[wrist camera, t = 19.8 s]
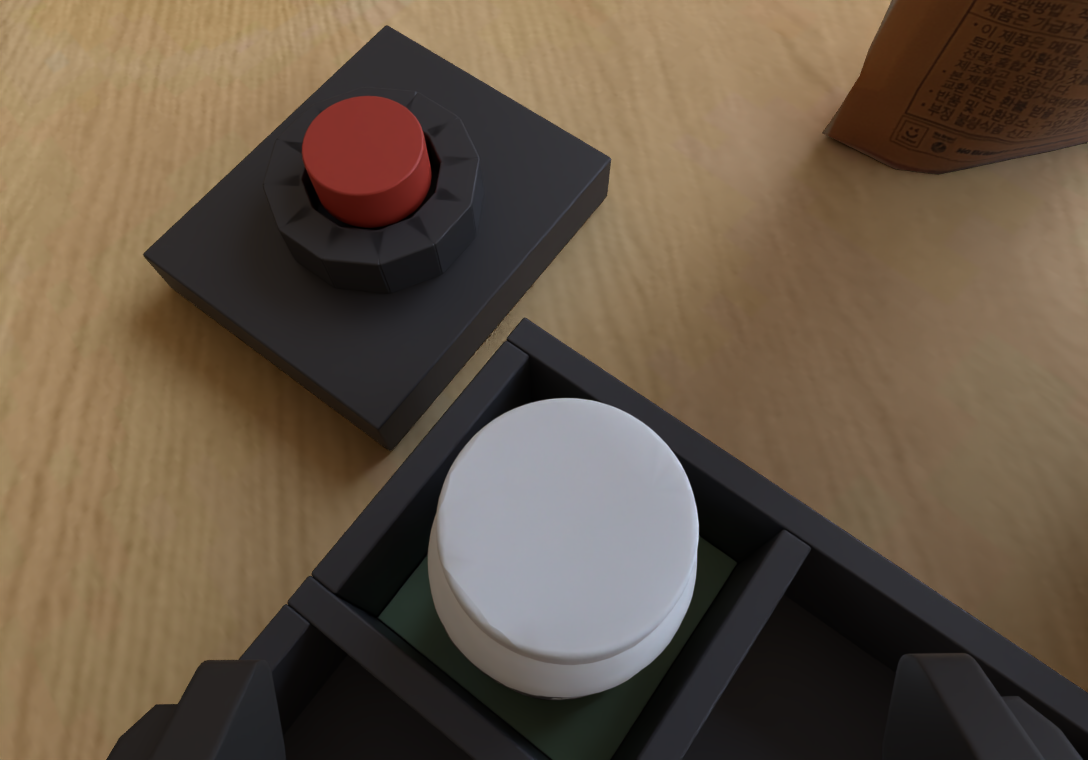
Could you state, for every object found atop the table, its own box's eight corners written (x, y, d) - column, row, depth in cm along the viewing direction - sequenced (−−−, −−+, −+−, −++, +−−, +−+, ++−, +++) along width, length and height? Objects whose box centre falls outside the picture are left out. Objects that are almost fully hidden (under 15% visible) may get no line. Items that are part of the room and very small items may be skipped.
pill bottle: (422, 563, 24) (344, 468, 15) (587, 462, 25) (610, 316, 16) (524, 745, 22) (507, 765, 13) (697, 627, 23) (795, 570, 14)
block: (391, 452, 26) (365, 409, 22) (170, 287, 28) (113, 223, 25) (607, 196, 30) (616, 121, 26) (396, 67, 32) (376, -18, 28)
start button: (380, 249, 25) (368, 216, 23) (292, 189, 26) (275, 154, 24) (455, 169, 26) (449, 133, 24) (369, 114, 27) (357, 75, 25)
